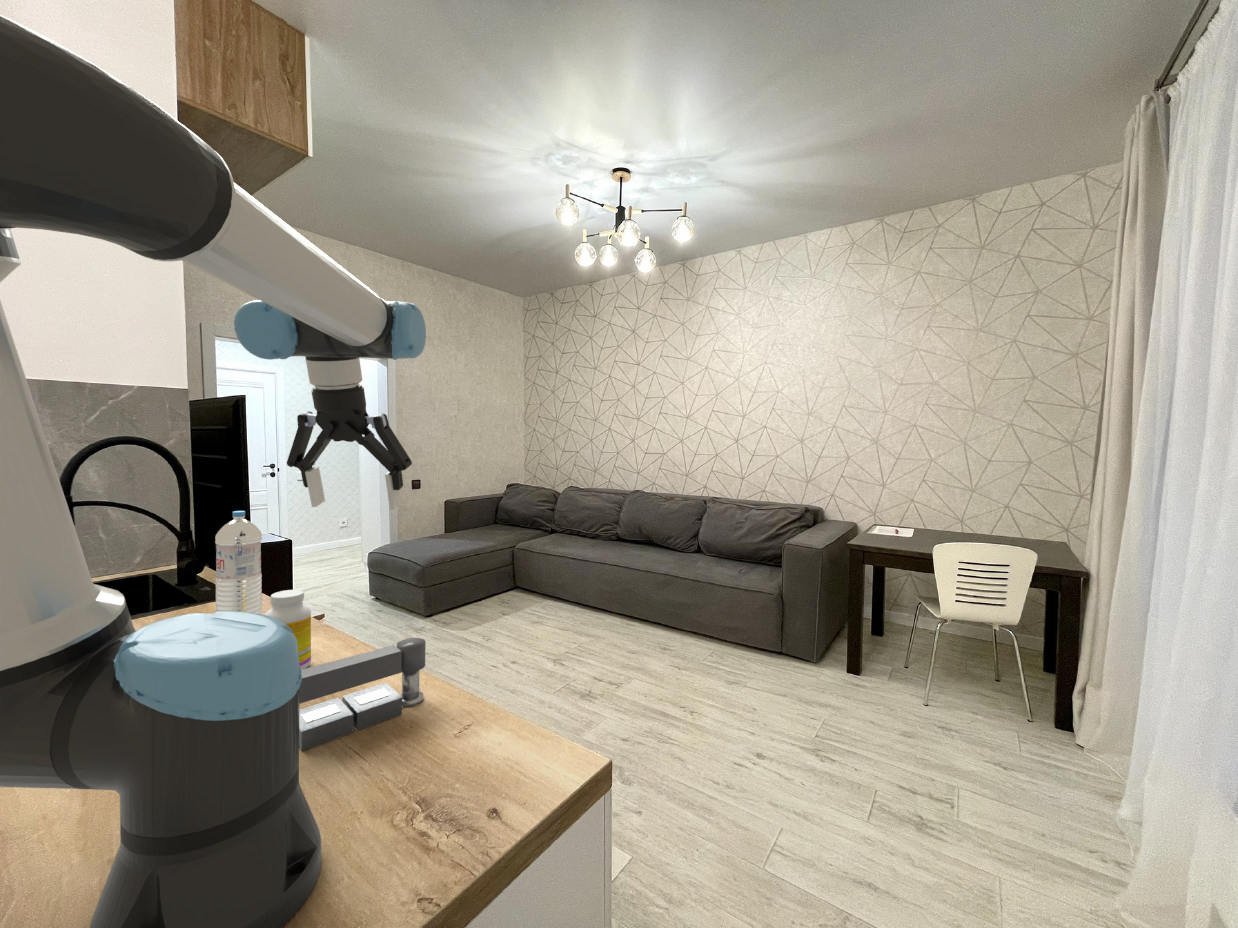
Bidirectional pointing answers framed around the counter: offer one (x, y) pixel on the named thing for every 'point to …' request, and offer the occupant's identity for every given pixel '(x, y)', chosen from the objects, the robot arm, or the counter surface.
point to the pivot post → (411, 689)
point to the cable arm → (362, 669)
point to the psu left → (324, 723)
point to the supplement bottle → (294, 620)
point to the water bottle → (238, 566)
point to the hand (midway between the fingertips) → (357, 505)
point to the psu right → (373, 705)
